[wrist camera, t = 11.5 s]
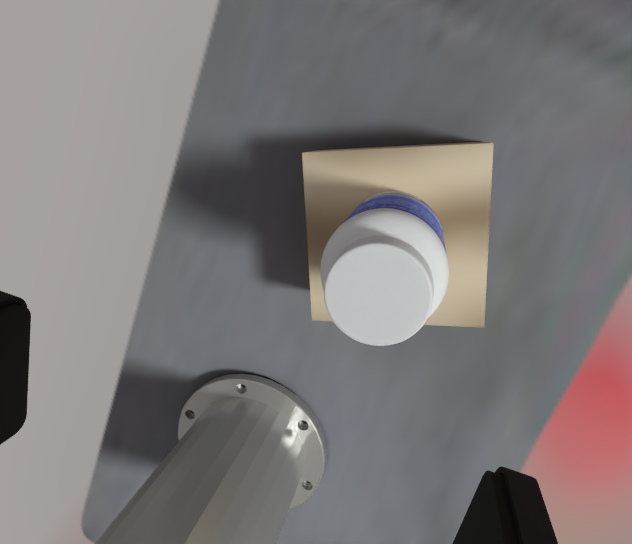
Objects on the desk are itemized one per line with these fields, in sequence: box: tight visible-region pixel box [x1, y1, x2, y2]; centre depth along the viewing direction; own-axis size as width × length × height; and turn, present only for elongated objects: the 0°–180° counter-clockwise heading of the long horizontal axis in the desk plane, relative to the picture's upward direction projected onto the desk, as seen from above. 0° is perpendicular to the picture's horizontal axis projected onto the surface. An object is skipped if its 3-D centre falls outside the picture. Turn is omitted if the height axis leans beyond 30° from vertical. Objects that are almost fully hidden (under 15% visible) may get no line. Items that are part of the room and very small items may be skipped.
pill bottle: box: [320, 191, 449, 346], centre depth 21 cm, size 5×5×10 cm
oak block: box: [302, 142, 493, 327], centre depth 28 cm, size 10×10×5 cm
